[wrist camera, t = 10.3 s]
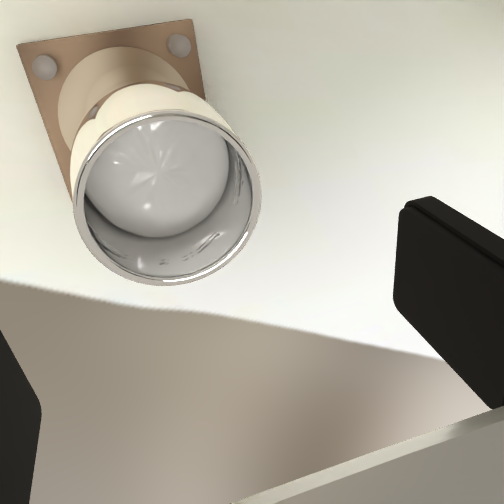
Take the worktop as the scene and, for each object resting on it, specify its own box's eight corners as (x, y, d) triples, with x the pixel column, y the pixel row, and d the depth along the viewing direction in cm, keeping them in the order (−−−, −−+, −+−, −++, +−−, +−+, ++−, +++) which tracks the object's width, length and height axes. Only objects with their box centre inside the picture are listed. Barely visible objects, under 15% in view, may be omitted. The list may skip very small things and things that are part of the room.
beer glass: (168, 40, 26) (237, 71, 14) (205, 148, 30) (286, 248, 18) (55, 79, 26) (21, 150, 13) (107, 185, 29) (121, 318, 17)
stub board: (188, 18, 27) (197, 20, 25) (213, 170, 33) (223, 183, 30) (19, 44, 25) (12, 48, 23) (75, 201, 31) (73, 217, 28)
